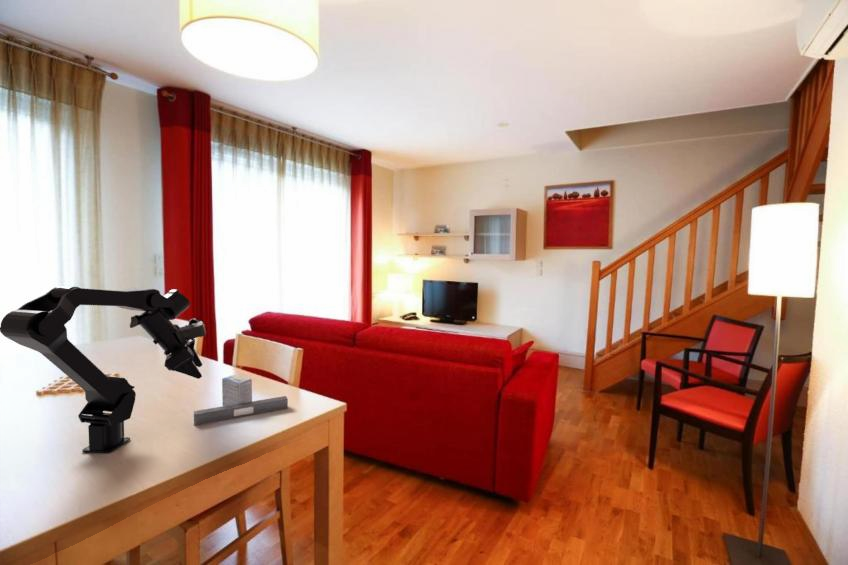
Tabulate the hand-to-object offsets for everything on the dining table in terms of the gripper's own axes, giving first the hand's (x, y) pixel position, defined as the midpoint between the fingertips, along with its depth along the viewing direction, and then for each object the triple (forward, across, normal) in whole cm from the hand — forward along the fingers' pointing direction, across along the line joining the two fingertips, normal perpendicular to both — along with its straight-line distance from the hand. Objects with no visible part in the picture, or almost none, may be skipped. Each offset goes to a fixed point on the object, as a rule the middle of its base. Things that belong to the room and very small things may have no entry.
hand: (200, 371), depth 111 cm
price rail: (+16, -7, -2) cm, 17 cm away
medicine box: (+16, 0, -1) cm, 16 cm away
